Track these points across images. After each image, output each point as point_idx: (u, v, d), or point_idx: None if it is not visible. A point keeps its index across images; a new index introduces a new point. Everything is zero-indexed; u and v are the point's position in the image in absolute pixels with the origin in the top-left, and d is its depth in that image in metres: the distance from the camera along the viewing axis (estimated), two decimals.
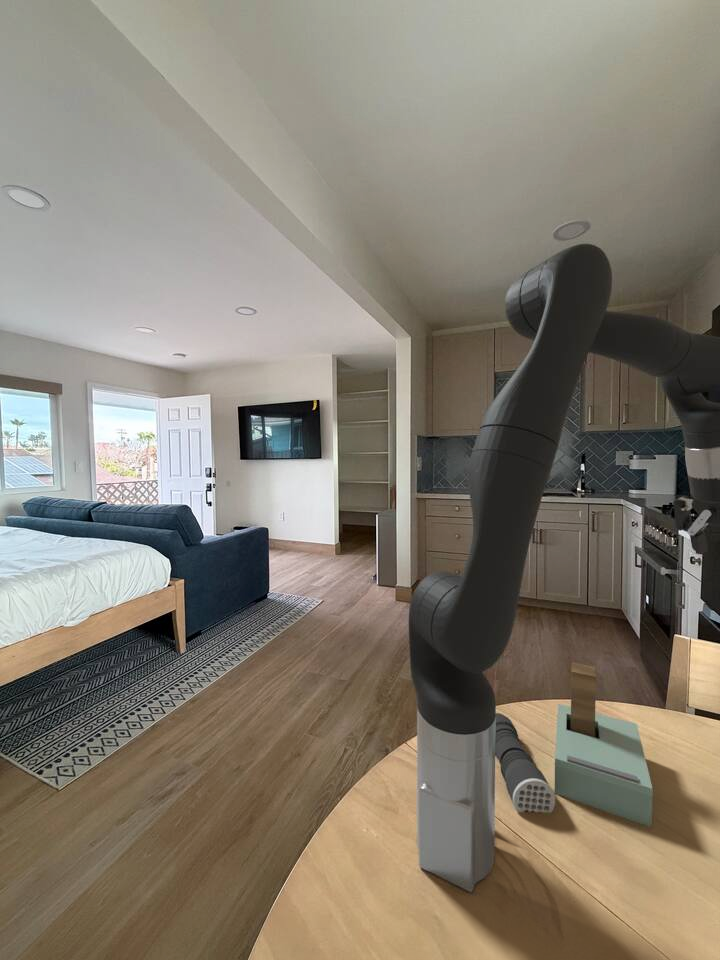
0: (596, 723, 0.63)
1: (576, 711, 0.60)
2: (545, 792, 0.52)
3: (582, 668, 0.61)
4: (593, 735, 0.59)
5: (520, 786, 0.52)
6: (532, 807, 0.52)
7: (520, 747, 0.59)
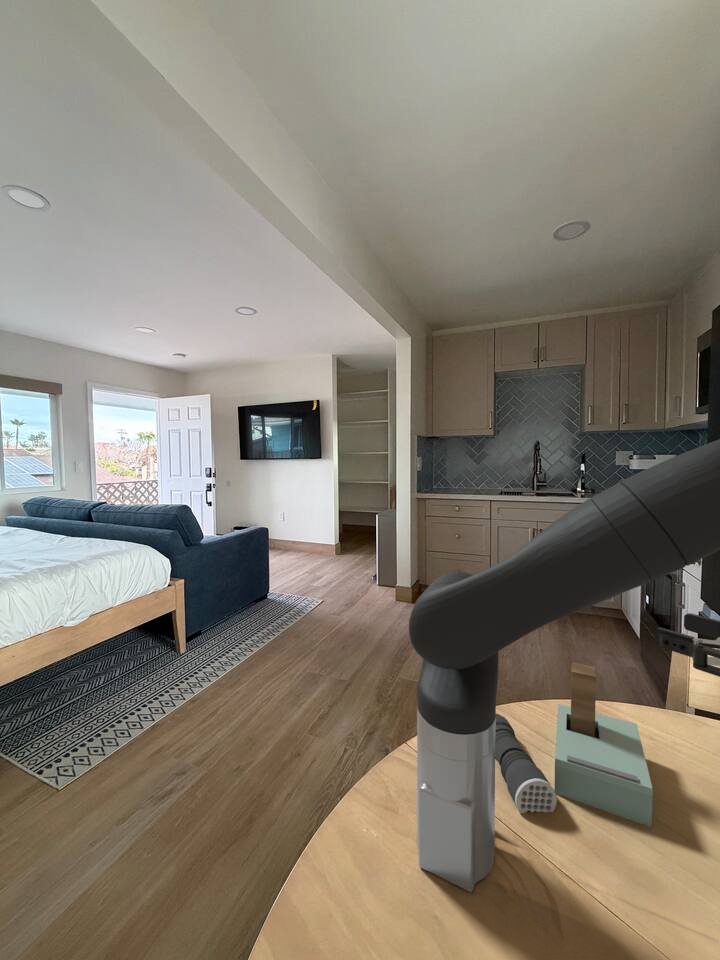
0: (596, 723, 0.63)
1: (576, 711, 0.60)
2: (547, 792, 0.52)
3: (582, 668, 0.61)
4: (593, 735, 0.59)
5: (522, 787, 0.52)
6: (534, 807, 0.52)
7: (519, 747, 0.59)
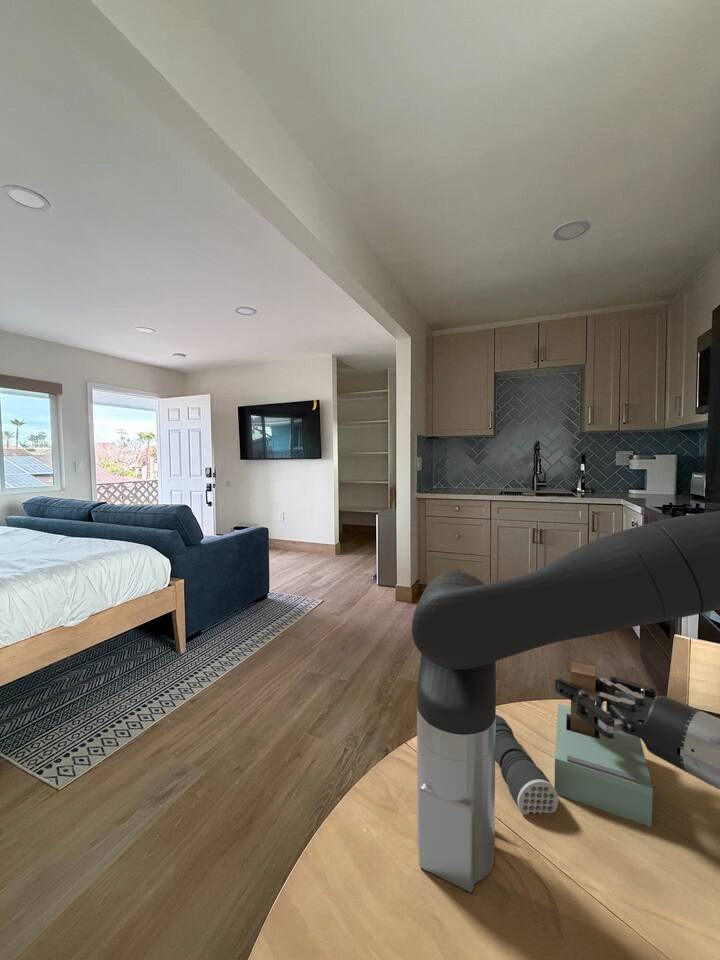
0: None
1: None
2: (549, 792, 0.52)
3: (582, 667, 0.62)
4: (593, 735, 0.59)
5: (525, 788, 0.52)
6: (536, 808, 0.52)
7: (519, 748, 0.59)
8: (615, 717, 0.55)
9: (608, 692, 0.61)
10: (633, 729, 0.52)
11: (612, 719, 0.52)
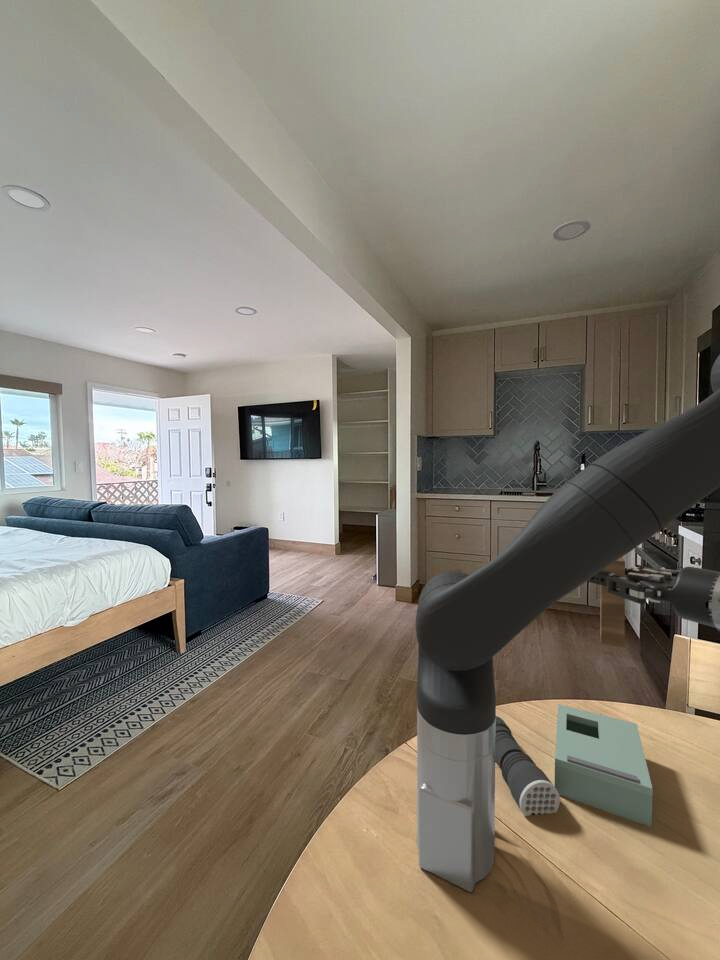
0: (596, 723, 0.63)
1: (606, 596, 0.65)
2: (550, 793, 0.52)
3: None
4: (623, 617, 0.64)
5: (527, 789, 0.52)
6: (538, 809, 0.52)
7: (518, 748, 0.59)
8: None
9: None
10: (663, 595, 0.56)
11: (643, 586, 0.56)
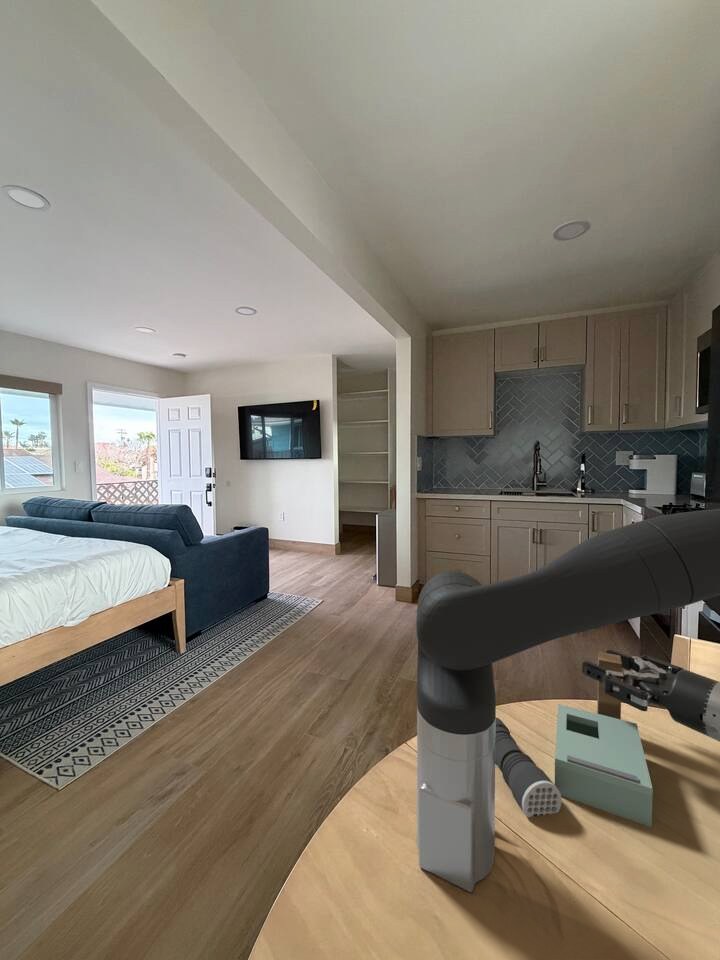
0: (596, 723, 0.63)
1: (603, 696, 0.66)
2: (552, 793, 0.52)
3: (609, 656, 0.67)
4: (619, 718, 0.65)
5: (529, 790, 0.51)
6: (540, 810, 0.52)
7: (518, 749, 0.59)
8: None
9: (640, 669, 0.67)
10: (658, 699, 0.58)
11: (646, 693, 0.57)
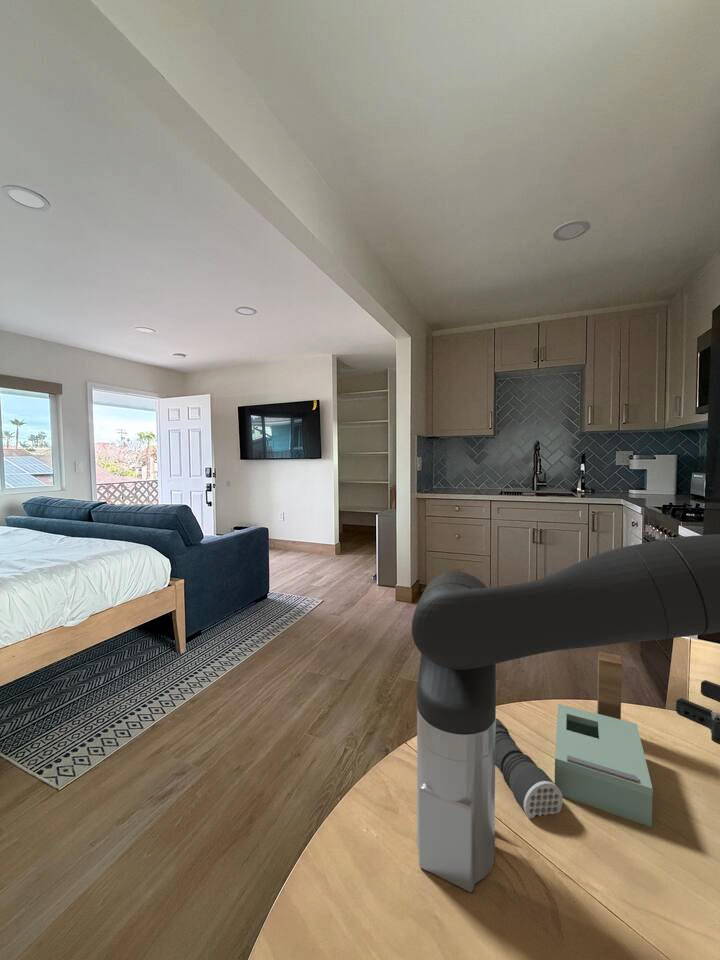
0: (596, 723, 0.63)
1: (603, 696, 0.66)
2: (554, 793, 0.52)
3: (609, 656, 0.67)
4: (619, 718, 0.65)
5: (531, 791, 0.51)
6: (541, 810, 0.52)
7: (518, 749, 0.59)
8: None
9: None
10: None
11: None
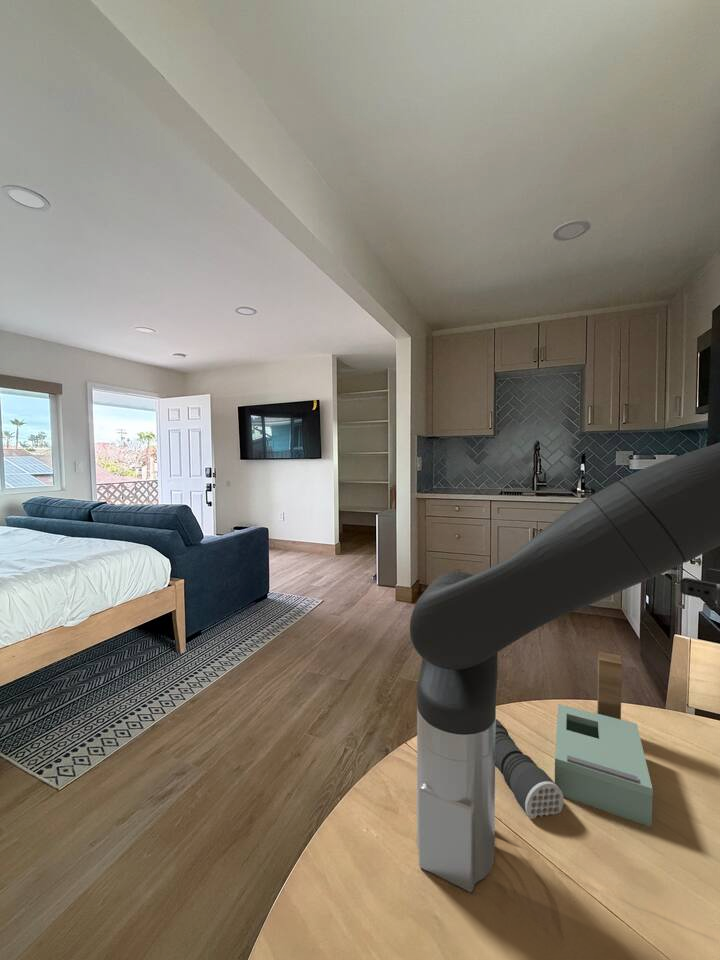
0: (596, 723, 0.63)
1: (603, 696, 0.66)
2: (555, 793, 0.52)
3: (609, 656, 0.67)
4: (619, 718, 0.65)
5: (532, 792, 0.51)
6: (543, 811, 0.52)
7: (518, 749, 0.59)
8: None
9: None
10: None
11: None
